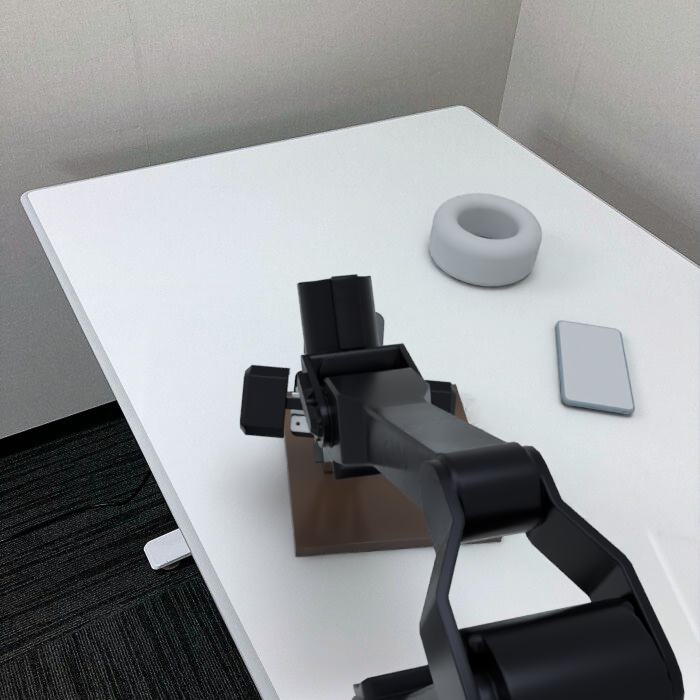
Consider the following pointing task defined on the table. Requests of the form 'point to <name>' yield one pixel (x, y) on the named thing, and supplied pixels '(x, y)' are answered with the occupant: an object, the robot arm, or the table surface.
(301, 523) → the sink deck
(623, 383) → the smartphone
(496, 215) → the donut shape
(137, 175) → the table surface
